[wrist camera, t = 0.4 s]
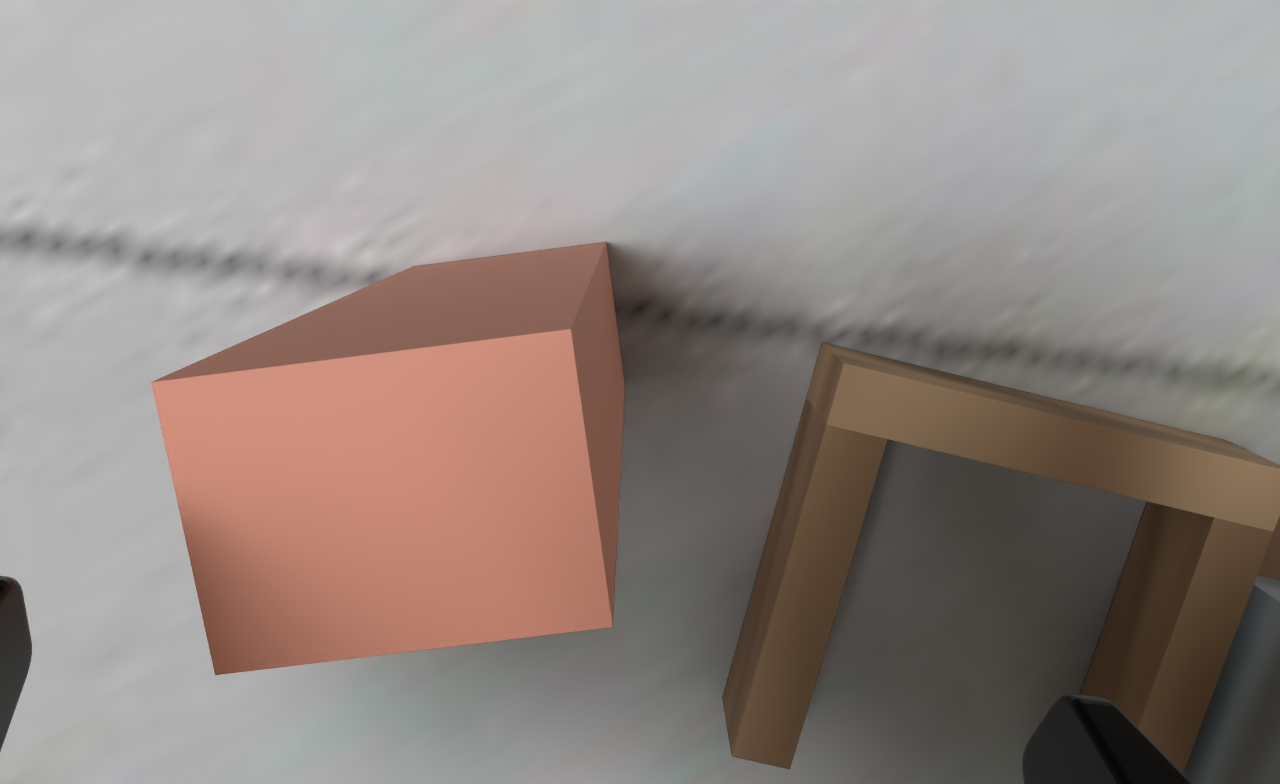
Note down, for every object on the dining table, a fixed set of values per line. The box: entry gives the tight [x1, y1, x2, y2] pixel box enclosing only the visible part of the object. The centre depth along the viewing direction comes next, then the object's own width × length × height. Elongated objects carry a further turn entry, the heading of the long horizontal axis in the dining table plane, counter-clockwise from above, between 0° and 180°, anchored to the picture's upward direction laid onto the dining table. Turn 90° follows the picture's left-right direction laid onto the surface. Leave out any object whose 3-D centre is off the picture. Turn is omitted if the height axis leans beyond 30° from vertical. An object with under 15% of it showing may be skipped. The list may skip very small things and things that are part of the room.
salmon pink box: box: [151, 242, 625, 675], centre depth 17 cm, size 3×4×12 cm
